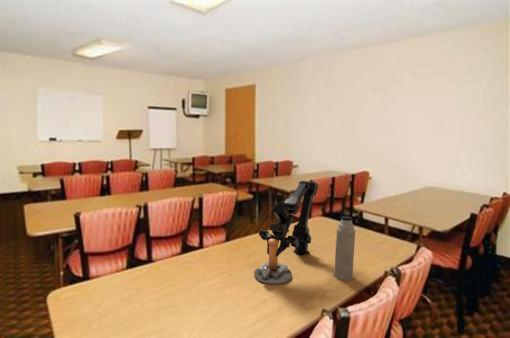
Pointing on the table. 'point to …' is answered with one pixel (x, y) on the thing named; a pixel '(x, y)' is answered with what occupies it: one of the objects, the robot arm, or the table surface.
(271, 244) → the wooden peg
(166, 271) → the table surface
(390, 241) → the table surface
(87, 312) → the table surface
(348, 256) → the thermos bottle
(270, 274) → the grey peg hole base
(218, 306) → the table surface
